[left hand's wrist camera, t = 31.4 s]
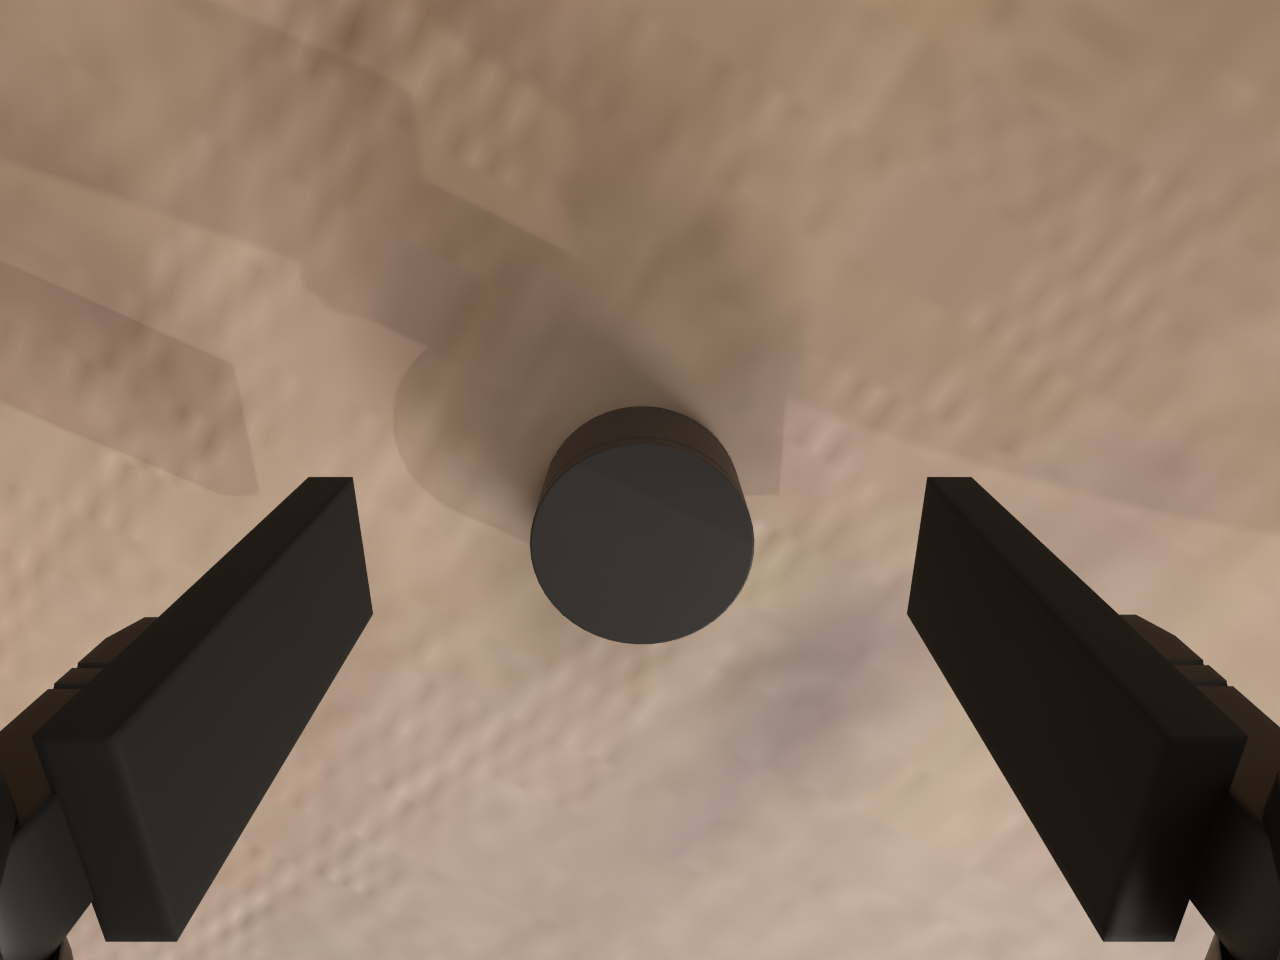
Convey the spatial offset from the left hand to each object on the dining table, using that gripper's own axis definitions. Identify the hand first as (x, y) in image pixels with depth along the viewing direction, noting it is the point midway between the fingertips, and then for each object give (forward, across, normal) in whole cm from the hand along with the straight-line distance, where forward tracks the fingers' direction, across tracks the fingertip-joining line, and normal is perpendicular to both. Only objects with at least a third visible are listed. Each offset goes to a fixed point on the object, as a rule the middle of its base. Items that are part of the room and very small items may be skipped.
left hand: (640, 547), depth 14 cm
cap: (0, 0, 0) cm, 0 cm away
